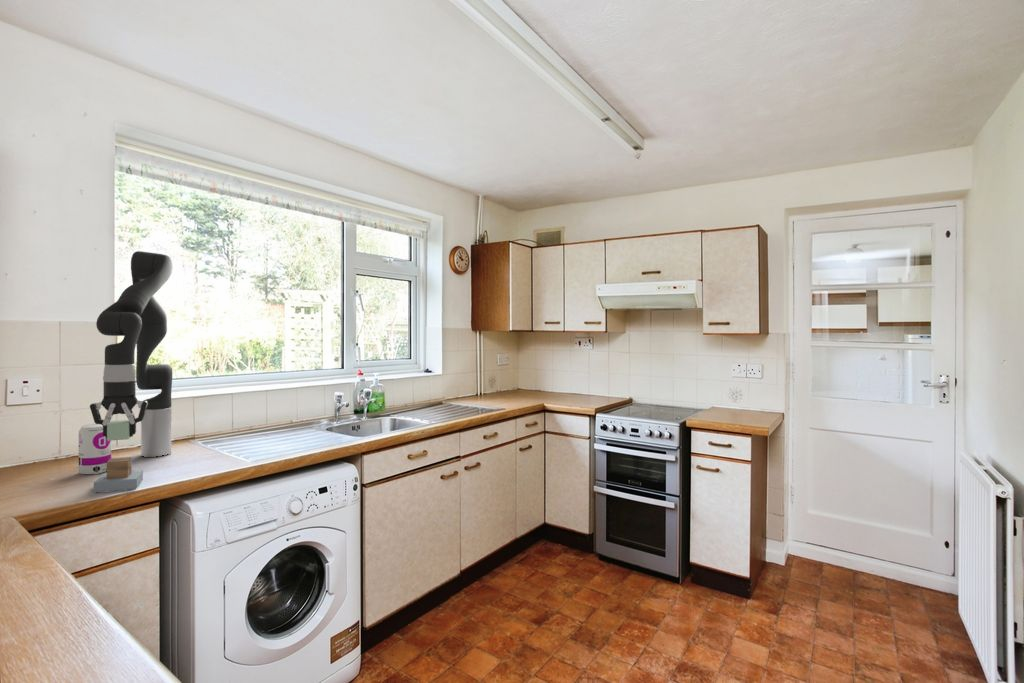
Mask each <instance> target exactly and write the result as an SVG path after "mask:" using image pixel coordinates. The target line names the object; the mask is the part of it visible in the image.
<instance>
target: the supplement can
mask: <svg viewBox="0 0 1024 683" xmlns="http://www.w3.org/2000/svg"><path fill="white" fill-rule="evenodd" d="M111 458H112V441H107V438H106V436H103V425H101V424H95V423H93V424H92V423H91V424H86V425H82V426H80V428H79V430H78V473H80V474H81V475H83V474H94V475H98V474H97V473H100V474H103V473H102V472H104V473H107V472H106V471H107V461H108V460H110V459H111Z"/></svg>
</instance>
